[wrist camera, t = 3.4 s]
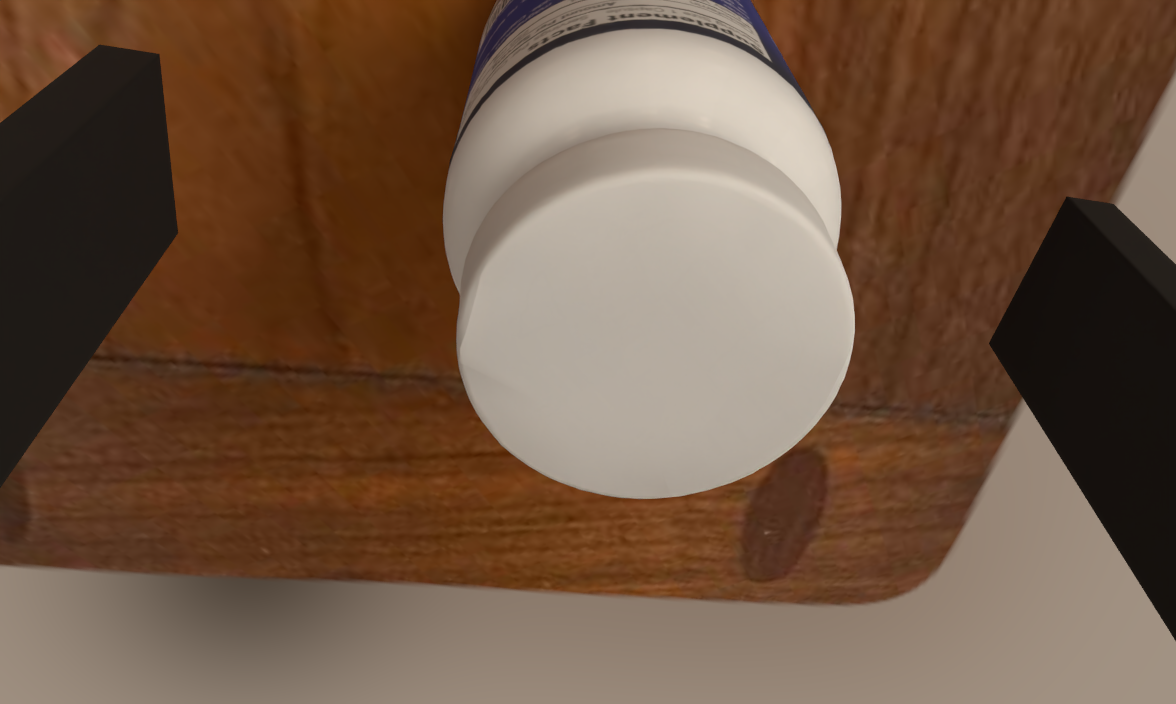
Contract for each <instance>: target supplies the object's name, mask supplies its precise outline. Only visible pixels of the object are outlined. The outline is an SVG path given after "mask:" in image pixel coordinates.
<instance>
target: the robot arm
mask: <svg viewBox="0 0 1176 704" xmlns="http://www.w3.org/2000/svg"><path fill="white" fill-rule="evenodd" d="M177 234H178V229H177V220H176V210H175V200H174V191H173V181H172V172H171V162H170V152H169V143H168V133H167V123H166V114H165V104H164V95H163V85H162V75H161V66H160V56H159V54H156V53H149V52H143V51H137V50H130V49H124V48H117V47H111V46H105V45H98V46H97V47H96V48H95V49H93V50H92V51H91V52H90V53H88V54H87V55H86V56H84V57H83V58H82V59H81V60H79V61H78V62H77V63H76V64H74V65H73V66H72V67H71V68H69V69H68V70H67V71H66V72H64V73H63V74H62V75H60V76H59V77H58V78H57V79H55V80H54V81H53V82H52V83H50V84H49V85H48V86H47V87H45V88H44V89H43V90H41V91H40V92H39V93H38V94H36V95H35V96H34V97H33V98H31V99H30V100H29V101H28V102H26V103H25V104H24V105H22V106H21V107H20V108H19V109H17V110H16V111H15V112H14V113H12V114H11V115H10V116H9V117H7V118H6V119H5V120H4V121H2V122H1V123H0V487H1V486H2V484H3V483H4V482H5V480H6V479H7V477H8V476H9V474H10V473H11V472H12V470H13V469H14V467H15V466H16V464H17V463H18V462H19V460H20V459H21V457H22V456H23V454H24V453H25V452H26V450H27V449H28V447H29V446H30V444H31V443H32V441H33V440H34V439H35V437H36V436H37V434H38V433H39V431H40V430H41V429H42V427H43V426H44V424H45V423H46V421H47V420H48V419H49V417H50V416H51V414H52V413H53V411H54V410H55V409H56V407H57V406H58V404H59V403H60V401H61V400H62V399H63V397H64V396H65V394H66V393H67V391H68V390H69V388H70V387H71V386H72V384H73V383H74V381H75V380H76V378H77V377H78V376H79V374H80V373H81V371H82V370H83V368H84V367H85V366H86V364H87V363H88V361H89V360H90V358H91V357H92V356H93V354H94V353H95V351H96V350H97V348H98V347H99V346H100V344H101V343H102V341H103V340H104V338H105V337H106V335H107V334H108V333H109V331H110V330H111V328H112V327H113V325H114V324H115V323H116V321H117V320H118V318H119V317H120V315H121V314H122V313H123V311H124V310H125V308H126V307H127V305H128V304H129V303H130V301H131V300H132V298H133V297H134V295H135V294H136V293H137V291H138V290H139V288H140V287H141V285H142V284H143V283H144V281H145V280H146V278H147V277H148V275H149V274H150V272H151V271H152V270H153V268H154V267H155V265H156V264H157V262H158V261H159V260H160V258H161V257H162V255H163V254H164V252H165V251H166V250H167V248H168V247H169V245H170V244H171V242H172V241H173V240H174V238H175V237H176V235H177ZM989 344H990V346H991V348H992V349H993V351H994V352H995V354H996V356H997V357H998V359H999V360H1000V362H1001V364H1002V365H1003V367H1004V368H1005V370H1006V372H1007V373H1008V375H1009V376H1010V378H1011V379H1012V381H1013V383H1014V384H1015V386H1016V387H1017V389H1018V391H1019V392H1020V394H1021V395H1022V397H1023V399H1024V400H1025V402H1026V403H1027V405H1028V407H1029V408H1030V410H1031V411H1032V413H1033V414H1034V416H1035V418H1036V419H1037V421H1038V422H1039V424H1040V426H1041V427H1042V429H1043V430H1044V432H1045V434H1046V435H1047V437H1048V438H1049V440H1050V441H1051V443H1052V445H1053V446H1054V448H1055V450H1056V451H1057V453H1058V454H1059V456H1060V457H1061V459H1062V460H1063V462H1064V464H1065V465H1066V467H1067V469H1068V470H1069V471H1070V473H1071V475H1072V477H1073V478H1074V480H1075V481H1076V483H1077V485H1078V486H1079V488H1080V489H1081V491H1082V492H1083V494H1084V496H1085V497H1086V499H1087V500H1088V502H1089V504H1090V505H1091V507H1092V508H1093V510H1094V512H1095V513H1096V515H1097V516H1098V518H1099V520H1100V521H1101V523H1102V524H1103V526H1104V527H1105V529H1106V531H1107V532H1108V534H1109V535H1110V537H1111V539H1112V540H1113V542H1114V543H1115V545H1116V546H1117V548H1118V550H1119V551H1120V553H1121V554H1122V556H1123V558H1124V559H1125V561H1126V562H1127V564H1128V566H1129V567H1130V569H1131V570H1132V572H1133V574H1134V575H1135V577H1136V578H1137V580H1138V581H1139V583H1140V585H1141V586H1142V588H1143V590H1144V591H1145V593H1146V594H1147V596H1148V598H1149V599H1150V601H1151V602H1152V604H1153V605H1154V607H1155V609H1156V610H1157V612H1158V613H1159V615H1160V617H1161V618H1162V620H1163V621H1164V623H1165V625H1166V626H1167V628H1168V629H1169V631H1170V632H1171V634H1172V636H1173V637H1174V639H1175V640H1176V264H1175V263H1174V262H1173V261H1172V260H1171V259H1169V258H1168V257H1167V256H1166V255H1165V254H1164V253H1163V252H1162V251H1161V250H1160V249H1159V248H1158V247H1157V246H1156V245H1155V244H1154V243H1153V242H1152V241H1151V240H1150V239H1149V238H1148V237H1147V236H1146V235H1145V234H1144V233H1143V232H1142V231H1141V230H1140V229H1139V228H1138V227H1137V226H1135V224H1133V223H1132V222H1131V221H1130V220H1129V219H1128V218H1127V217H1126V216H1125V215H1124V214H1123V213H1122V212H1121V211H1120V210H1119V209H1118V208H1117V207H1116V206H1115V205H1114V204H1110V203H1104V202H1097V201H1091V200H1084V199H1078V198H1072V197H1066V199H1065V201H1064V203H1063V204H1062V206H1061V208H1060V210H1059V212H1058V214H1057V216H1056V218H1055V220H1054V221H1053V223H1052V225H1051V227H1050V229H1049V231H1048V233H1047V235H1046V237H1045V238H1044V240H1043V242H1042V244H1041V246H1040V248H1039V250H1038V252H1037V254H1036V255H1035V257H1034V259H1033V261H1032V263H1031V265H1030V267H1029V269H1028V271H1027V272H1026V274H1025V276H1024V278H1023V280H1022V282H1021V284H1020V286H1019V288H1018V289H1017V291H1016V293H1015V295H1014V297H1013V299H1012V301H1011V303H1010V305H1009V306H1008V308H1007V310H1006V312H1005V314H1004V316H1003V318H1002V320H1001V322H1000V323H999V325H998V327H997V329H996V331H995V333H994V335H993V337H992V339H991V341H990V342H989Z"/></svg>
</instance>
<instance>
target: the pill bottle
mask: <svg viewBox="0 0 1176 704" xmlns="http://www.w3.org/2000/svg"><path fill="white" fill-rule="evenodd" d="M840 222H841V192H840V184H839V178H838V173H837V169H836V165H835V161H834V158H833V154H832V149H831V147H830V144H829V142H828V139H827V136H826V133H825V131H824V129H823V127H822V125H821V123H820V122H819V120H818V119H817V117H816V115H815V113H814V111H813V109H812V108H811V106H810V104H809V102H808V100H807V99H806V97H805V95H804V93H803V92H802V90H801V88H800V86H799V85H798V83H797V81H796V80H795V78H794V76H793V74H792V73H791V71H790V69H789V67H788V66H787V64H786V62H785V60H784V59H783V56H782V54H781V53H780V51H779V50H778V48H777V46H776V44H775V43H774V41H773V39H772V38H771V36H770V34H769V32H768V30H767V28H766V27H765V25H764V23H763V21H762V20H761V18H760V16H759V14H758V13H757V11H756V9H755V8H754V6H753V4H752V2H751V0H497V1H496V3H495V5H494V7H493V9H492V11H491V14H490V16H489V18H488V20H487V23H486V25H485V28H484V31H483V34H482V37H481V40H480V45H479V49H478V53H477V57H476V62H475V66H474V70H473V75H472V79H471V83H470V87H469V91H468V96H467V100H466V104H465V108H464V112H463V116H462V120H461V124H460V128H459V131H458V134H457V138H456V142H455V146H454V149H453V152H452V156H451V159H450V165H449V172H448V177H447V182H446V189H445V197H444V206H443V232H444V243H445V249H446V255H447V259H448V263H449V267H450V271H451V274H452V277H453V280H454V283H455V285H456V287H457V289H458V292H459V294H460V304H459V313H458V319H457V335H456V344H457V357H458V365H459V370H460V373H461V377H462V380H463V383H464V386H465V389H466V392H467V395H468V397H469V400H470V401H471V403H472V405H473V407H474V409H475V411H476V413H477V414H478V416H479V417H480V419H481V420H482V422H483V423H484V424H485V426H486V427H487V428H488V429H489V431H490V432H491V433H492V434H493V436H494V437H495V438H496V439H497V441H498V442H499V443H500V444H501V445H502V446H503V447H504V448H505V449H507V450H508V451H509V452H510V453H511V454H513V455H514V456H515V457H517V458H518V459H519V460H521V461H522V462H524V463H525V464H527V465H528V466H530V467H531V468H533V469H535V470H536V471H538V472H540V473H541V474H543V475H545V476H547V477H549V478H551V479H553V480H556V481H558V482H561V483H563V484H566V485H569V486H572V487H575V488H577V489H580V490H584V491H588V492H593V493H597V494H602V495H606V496H613V497H620V498H636V499H653V498H666V497H677V496H684V495H688V494H693V493H697V492H701V491H706V490H710V489H713V488H716V487H719V486H723V485H726V484H729V483H732V482H734V481H736V480H739V479H741V478H743V477H746V476H748V475H750V474H752V473H754V472H756V471H757V470H759V469H761V468H762V467H764V466H766V465H768V464H769V463H771V462H772V461H774V460H775V459H777V458H778V457H780V456H781V455H783V454H784V453H785V452H787V451H788V450H789V449H791V448H792V447H793V446H794V445H796V444H797V443H798V442H799V441H800V440H801V439H802V438H803V437H804V436H805V435H806V434H807V433H808V432H809V431H810V430H811V429H812V428H813V427H814V426H815V425H816V423H817V422H818V421H819V420H820V418H821V417H822V416H823V415H824V413H825V412H826V411H827V409H828V408H829V406H830V405H831V403H832V401H833V400H834V398H835V397H836V395H837V393H838V390H839V388H840V386H841V384H842V382H843V380H844V378H845V375H846V371H847V368H848V365H849V362H850V357H851V353H852V348H853V341H854V333H855V313H854V305H853V297H852V293H851V289H850V285H849V281H848V278H847V276H846V273H845V270H844V268H843V265H842V262H841V260H840V257H839V255H838V253H837V245H838V239H839V233H840Z"/></svg>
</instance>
